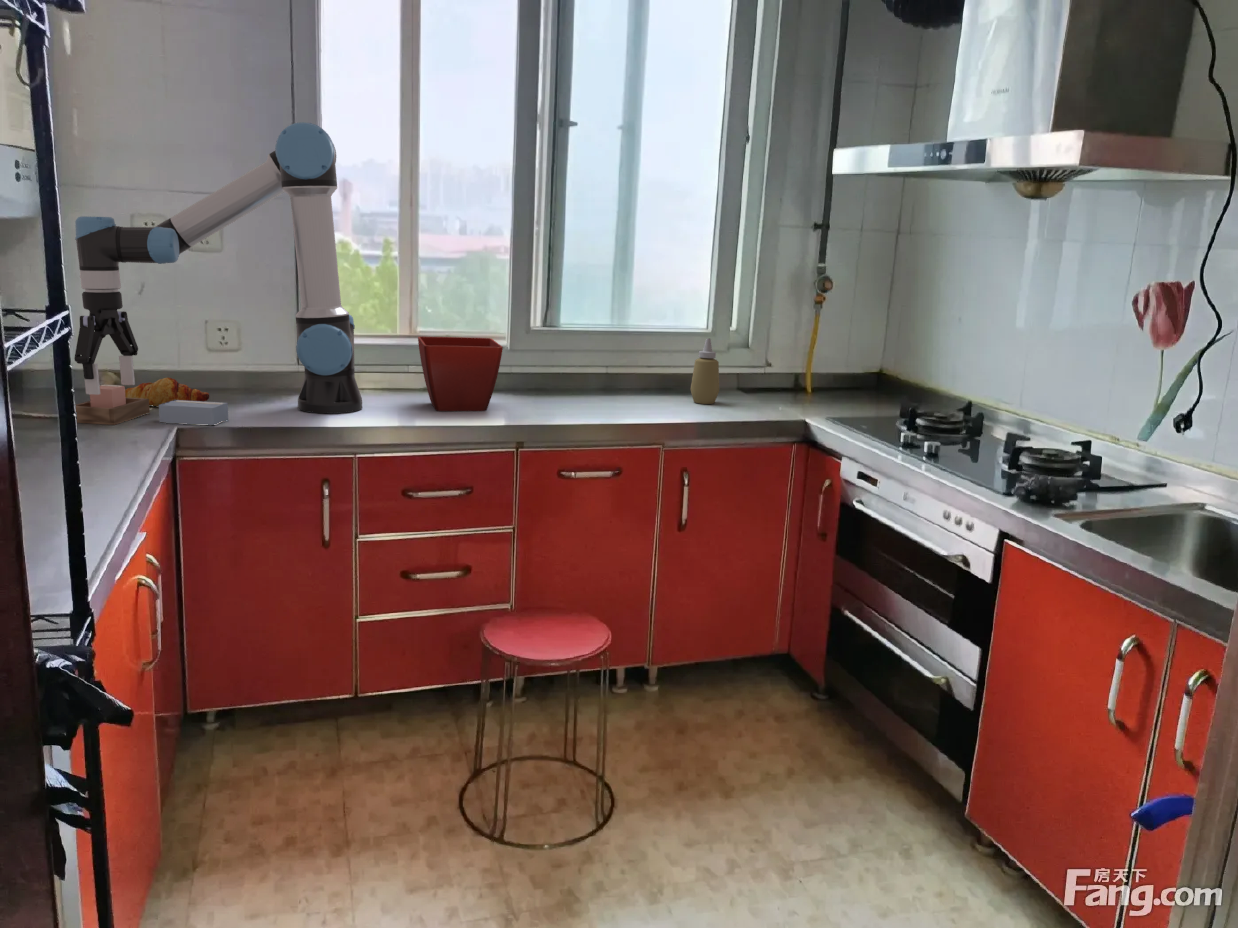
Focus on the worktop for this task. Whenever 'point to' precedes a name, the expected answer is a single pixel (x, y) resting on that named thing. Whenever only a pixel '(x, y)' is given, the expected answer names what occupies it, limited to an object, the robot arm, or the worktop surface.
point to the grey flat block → (193, 412)
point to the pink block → (109, 397)
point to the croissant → (165, 392)
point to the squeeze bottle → (705, 376)
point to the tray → (112, 412)
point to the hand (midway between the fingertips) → (111, 389)
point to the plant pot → (460, 371)
